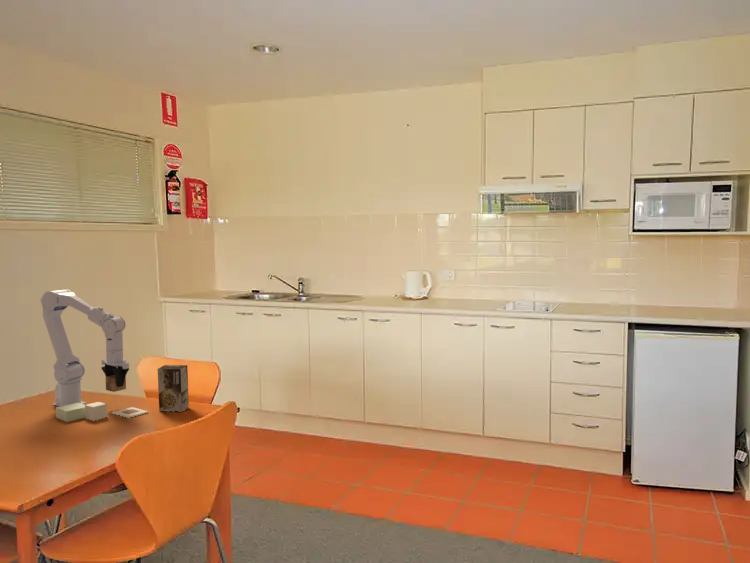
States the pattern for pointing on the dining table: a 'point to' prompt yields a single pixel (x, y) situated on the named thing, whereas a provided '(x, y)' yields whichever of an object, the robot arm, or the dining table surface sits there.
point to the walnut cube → (113, 384)
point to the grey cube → (96, 411)
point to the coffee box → (173, 388)
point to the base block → (71, 412)
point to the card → (130, 412)
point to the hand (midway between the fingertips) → (115, 385)
